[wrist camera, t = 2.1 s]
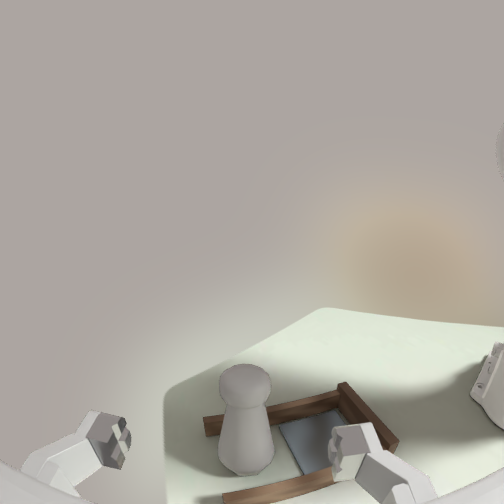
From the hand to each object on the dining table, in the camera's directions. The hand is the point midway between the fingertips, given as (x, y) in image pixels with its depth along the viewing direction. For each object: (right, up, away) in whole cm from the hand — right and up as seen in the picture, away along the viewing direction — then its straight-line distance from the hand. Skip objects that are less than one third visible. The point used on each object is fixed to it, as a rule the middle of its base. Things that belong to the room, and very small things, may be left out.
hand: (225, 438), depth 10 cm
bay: (+6, -15, +18) cm, 24 cm away
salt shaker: (0, -16, +17) cm, 23 cm away
